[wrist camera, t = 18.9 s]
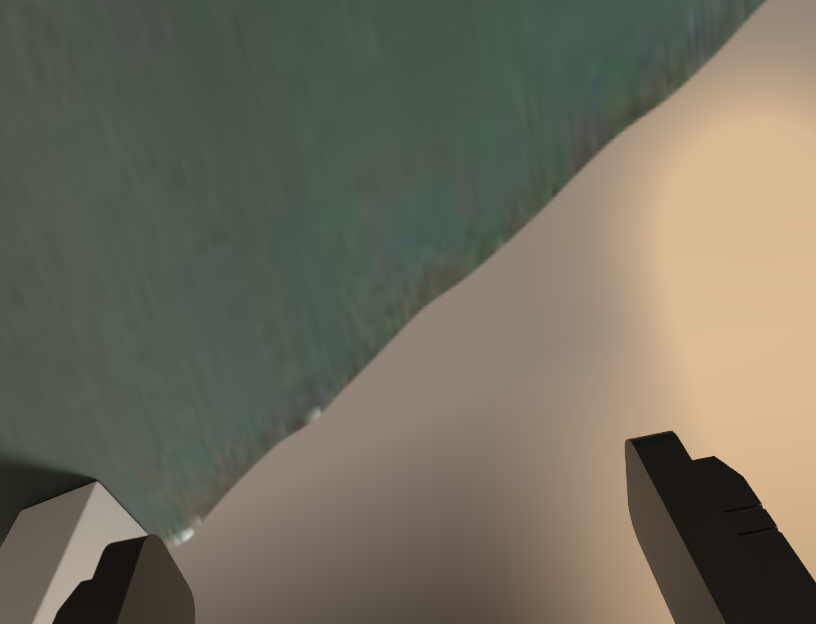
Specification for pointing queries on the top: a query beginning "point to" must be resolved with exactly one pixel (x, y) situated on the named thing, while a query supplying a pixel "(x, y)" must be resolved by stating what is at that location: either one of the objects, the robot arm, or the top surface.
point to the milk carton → (57, 551)
